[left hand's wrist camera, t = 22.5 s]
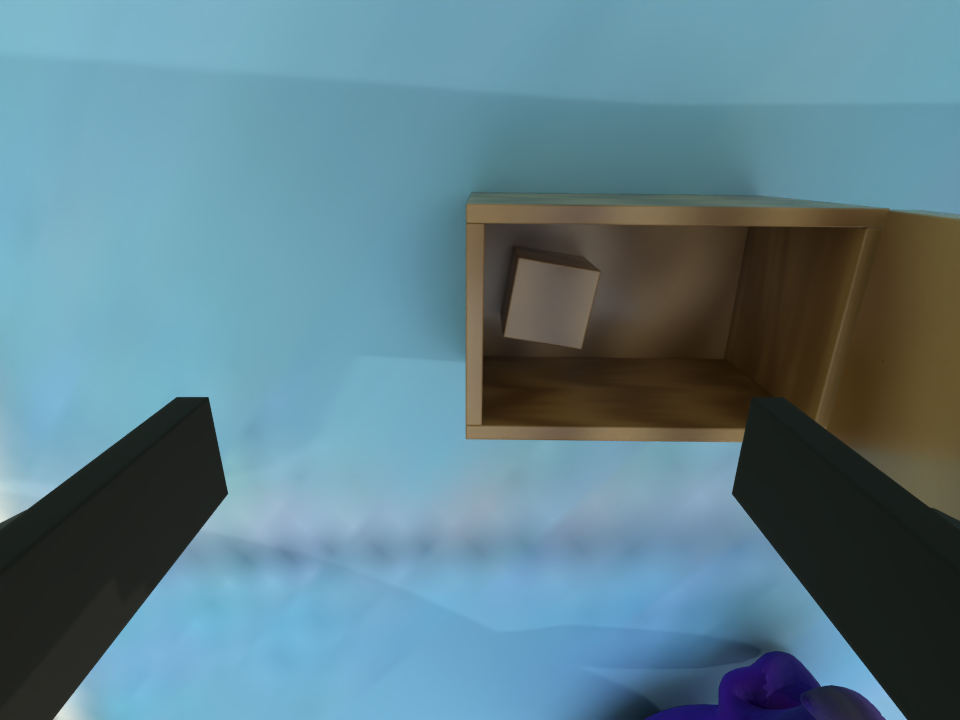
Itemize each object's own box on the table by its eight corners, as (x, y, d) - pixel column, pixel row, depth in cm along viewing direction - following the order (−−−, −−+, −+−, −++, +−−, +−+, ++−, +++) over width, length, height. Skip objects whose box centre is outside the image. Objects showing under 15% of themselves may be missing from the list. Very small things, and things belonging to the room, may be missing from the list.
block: (499, 315, 30) (502, 337, 26) (513, 244, 29) (518, 256, 25) (569, 327, 30) (582, 350, 27) (585, 257, 29) (601, 271, 25)
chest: (470, 362, 32) (465, 439, 23) (470, 192, 29) (466, 203, 19) (727, 365, 32) (825, 443, 23) (760, 195, 29) (891, 208, 19)
